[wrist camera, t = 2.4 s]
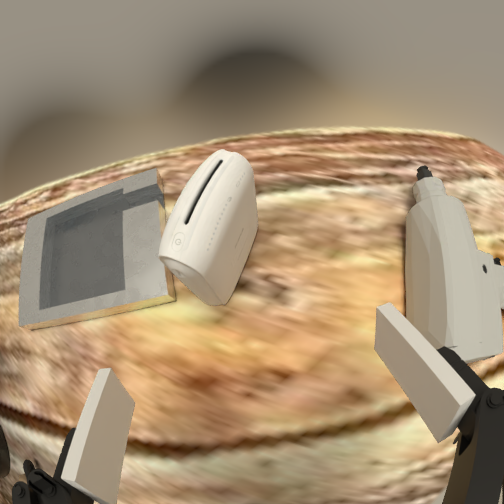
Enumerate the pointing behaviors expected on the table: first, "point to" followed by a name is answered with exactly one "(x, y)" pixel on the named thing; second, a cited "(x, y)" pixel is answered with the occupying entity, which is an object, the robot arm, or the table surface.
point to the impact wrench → (450, 276)
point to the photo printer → (212, 227)
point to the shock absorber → (26, 470)
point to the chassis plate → (96, 255)
